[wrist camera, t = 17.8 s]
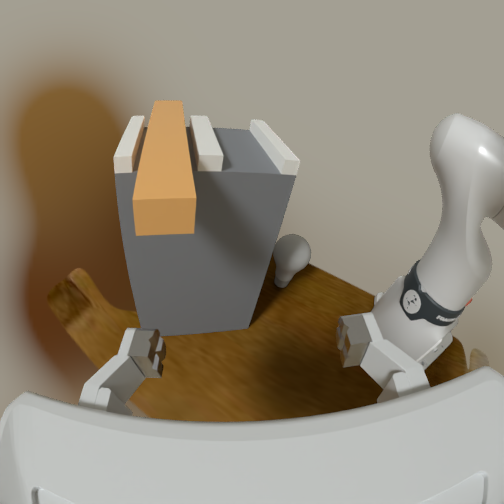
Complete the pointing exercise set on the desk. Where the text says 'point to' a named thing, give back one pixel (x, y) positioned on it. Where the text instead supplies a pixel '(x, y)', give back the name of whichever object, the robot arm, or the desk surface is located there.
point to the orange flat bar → (165, 176)
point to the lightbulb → (290, 257)
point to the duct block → (208, 228)
